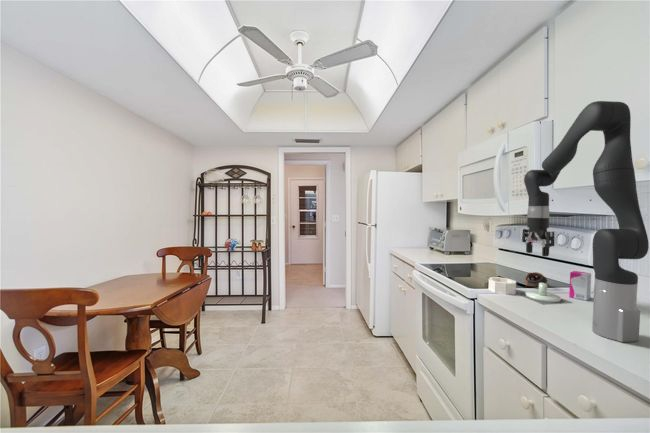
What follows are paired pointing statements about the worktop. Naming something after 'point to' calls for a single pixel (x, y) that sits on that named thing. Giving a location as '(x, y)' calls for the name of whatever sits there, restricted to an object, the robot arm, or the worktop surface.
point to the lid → (543, 295)
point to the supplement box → (580, 285)
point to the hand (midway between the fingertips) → (536, 254)
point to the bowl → (502, 285)
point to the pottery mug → (535, 279)
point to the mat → (544, 302)
